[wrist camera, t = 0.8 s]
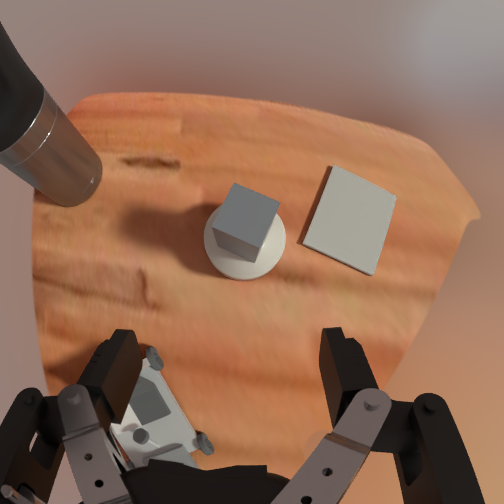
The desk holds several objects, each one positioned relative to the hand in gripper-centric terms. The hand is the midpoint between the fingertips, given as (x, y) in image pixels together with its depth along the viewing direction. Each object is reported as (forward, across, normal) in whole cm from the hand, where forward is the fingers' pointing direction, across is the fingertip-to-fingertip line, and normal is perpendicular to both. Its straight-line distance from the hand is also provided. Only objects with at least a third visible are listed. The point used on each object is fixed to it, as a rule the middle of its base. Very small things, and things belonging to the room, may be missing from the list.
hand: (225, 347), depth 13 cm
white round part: (+25, 0, +6) cm, 26 cm away
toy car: (+13, +13, +24) cm, 30 cm away
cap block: (+22, 0, +3) cm, 22 cm away
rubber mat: (+28, -14, +3) cm, 31 cm away
